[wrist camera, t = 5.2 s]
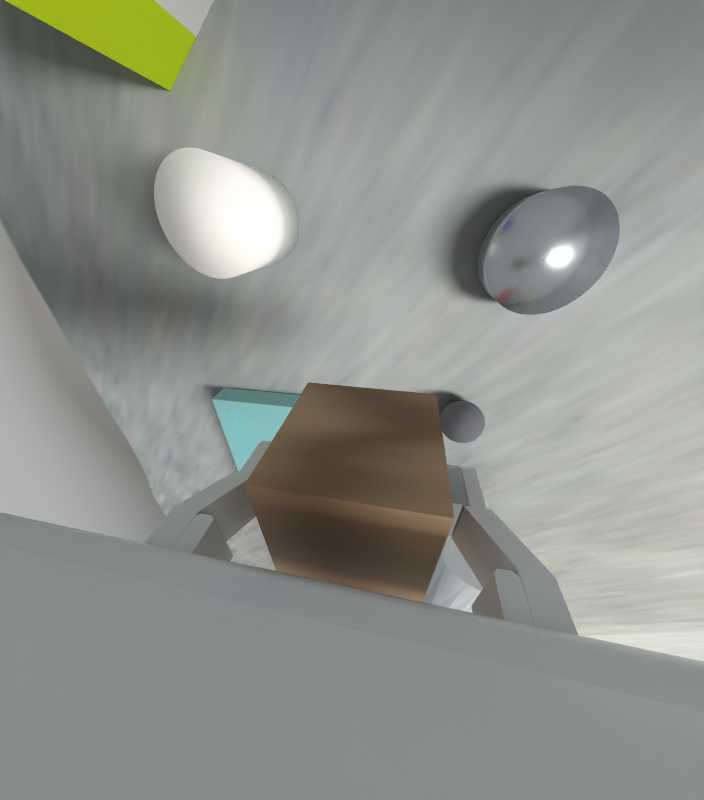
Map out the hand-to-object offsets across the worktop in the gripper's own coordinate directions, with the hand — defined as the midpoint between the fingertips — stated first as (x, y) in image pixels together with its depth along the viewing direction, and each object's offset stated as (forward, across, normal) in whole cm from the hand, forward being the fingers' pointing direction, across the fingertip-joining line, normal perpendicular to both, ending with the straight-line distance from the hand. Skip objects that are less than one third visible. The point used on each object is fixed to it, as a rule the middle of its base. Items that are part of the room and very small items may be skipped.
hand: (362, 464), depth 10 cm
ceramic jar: (+16, +10, -8) cm, 21 cm away
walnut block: (+2, 0, 0) cm, 2 cm away
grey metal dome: (+16, -10, -6) cm, 20 cm away
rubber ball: (+14, -8, +8) cm, 18 cm away
